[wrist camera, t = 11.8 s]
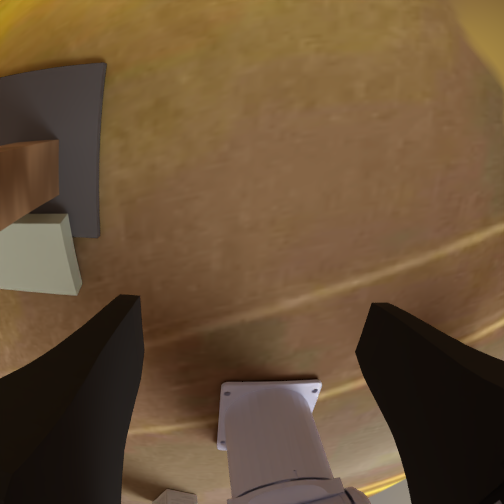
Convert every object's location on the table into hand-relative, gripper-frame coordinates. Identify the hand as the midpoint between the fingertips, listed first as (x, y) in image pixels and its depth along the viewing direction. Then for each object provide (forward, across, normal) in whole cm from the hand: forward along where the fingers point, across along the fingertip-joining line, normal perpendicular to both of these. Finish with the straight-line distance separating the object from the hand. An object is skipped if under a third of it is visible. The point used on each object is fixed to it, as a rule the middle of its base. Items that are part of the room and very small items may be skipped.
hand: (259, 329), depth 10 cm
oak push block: (+9, +12, -3) cm, 16 cm away
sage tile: (+9, +13, +5) cm, 17 cm away
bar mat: (+10, +12, -4) cm, 16 cm away
